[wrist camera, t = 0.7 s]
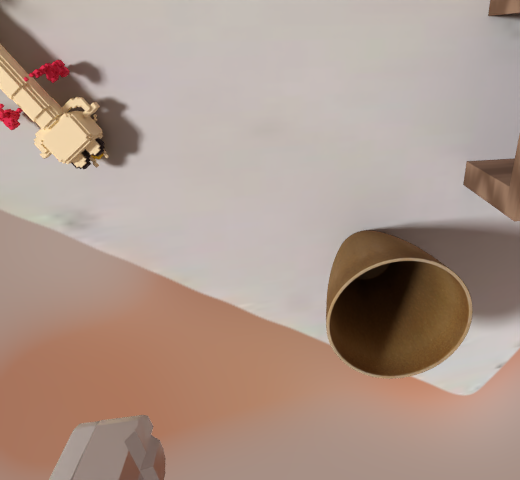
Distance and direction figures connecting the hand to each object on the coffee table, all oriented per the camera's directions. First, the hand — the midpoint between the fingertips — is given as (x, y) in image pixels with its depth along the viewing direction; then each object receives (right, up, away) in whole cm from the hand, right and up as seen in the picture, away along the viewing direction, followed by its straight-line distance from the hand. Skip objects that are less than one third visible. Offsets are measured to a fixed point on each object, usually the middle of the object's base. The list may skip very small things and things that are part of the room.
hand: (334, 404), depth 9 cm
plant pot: (+13, +2, +49) cm, 51 cm away
